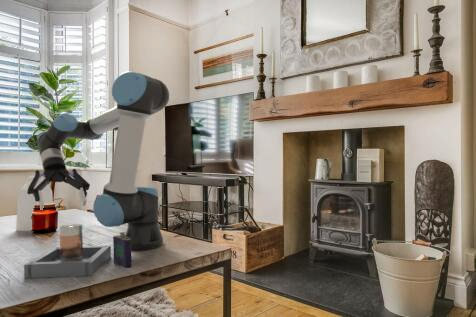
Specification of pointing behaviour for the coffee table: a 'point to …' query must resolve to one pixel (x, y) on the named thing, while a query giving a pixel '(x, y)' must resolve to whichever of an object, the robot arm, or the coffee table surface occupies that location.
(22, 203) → the milk
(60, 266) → the tray
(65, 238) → the glass with pinkish-brown filling
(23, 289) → the coffee table surface
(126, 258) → the flask
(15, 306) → the coffee table surface
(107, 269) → the coffee table surface
